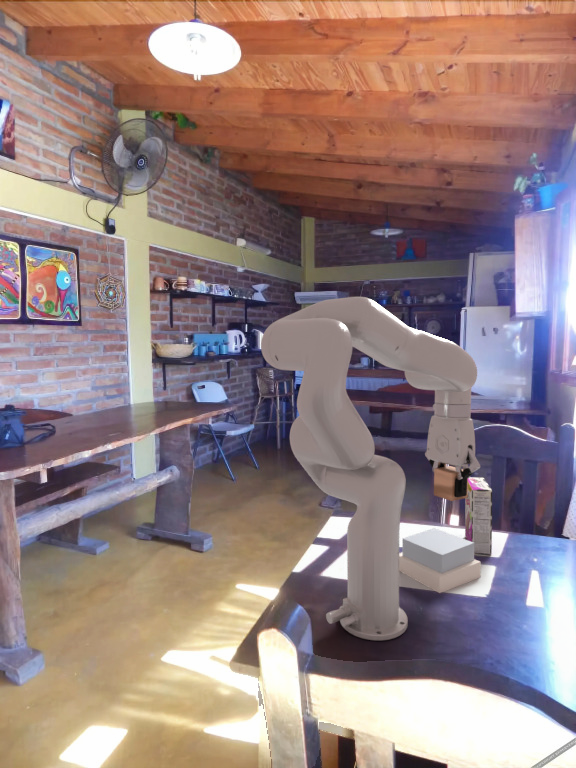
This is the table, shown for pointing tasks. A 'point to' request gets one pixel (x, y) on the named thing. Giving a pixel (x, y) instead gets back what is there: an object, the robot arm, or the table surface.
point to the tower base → (440, 574)
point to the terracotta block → (446, 483)
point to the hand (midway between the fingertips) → (450, 492)
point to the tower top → (438, 550)
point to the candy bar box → (479, 515)
